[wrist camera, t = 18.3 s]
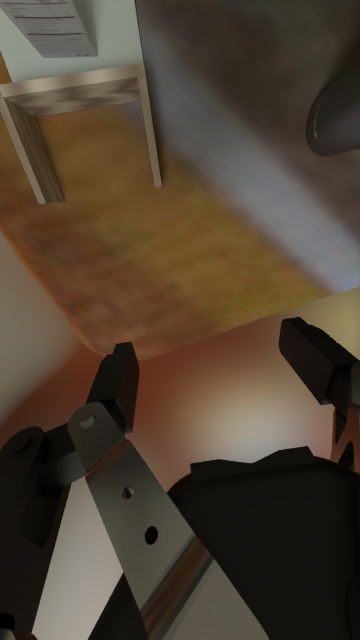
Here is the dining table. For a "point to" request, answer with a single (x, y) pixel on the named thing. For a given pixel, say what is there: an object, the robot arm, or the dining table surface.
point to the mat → (113, 51)
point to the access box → (66, 96)
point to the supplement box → (54, 26)
